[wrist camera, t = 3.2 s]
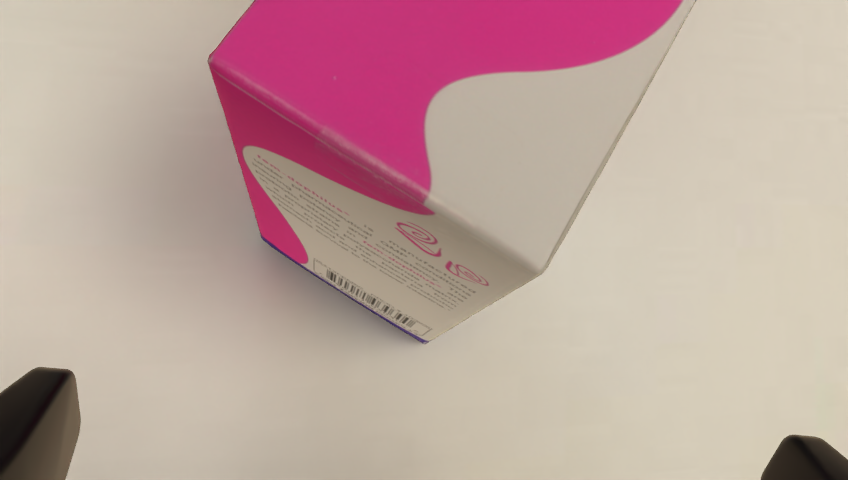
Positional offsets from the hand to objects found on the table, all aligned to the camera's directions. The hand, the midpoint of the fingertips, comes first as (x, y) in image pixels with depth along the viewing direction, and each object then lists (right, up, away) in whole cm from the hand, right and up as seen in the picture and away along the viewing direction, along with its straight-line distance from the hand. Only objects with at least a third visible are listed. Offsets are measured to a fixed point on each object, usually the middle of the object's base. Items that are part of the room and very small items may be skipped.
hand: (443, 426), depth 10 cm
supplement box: (-1, +3, +13) cm, 13 cm away
